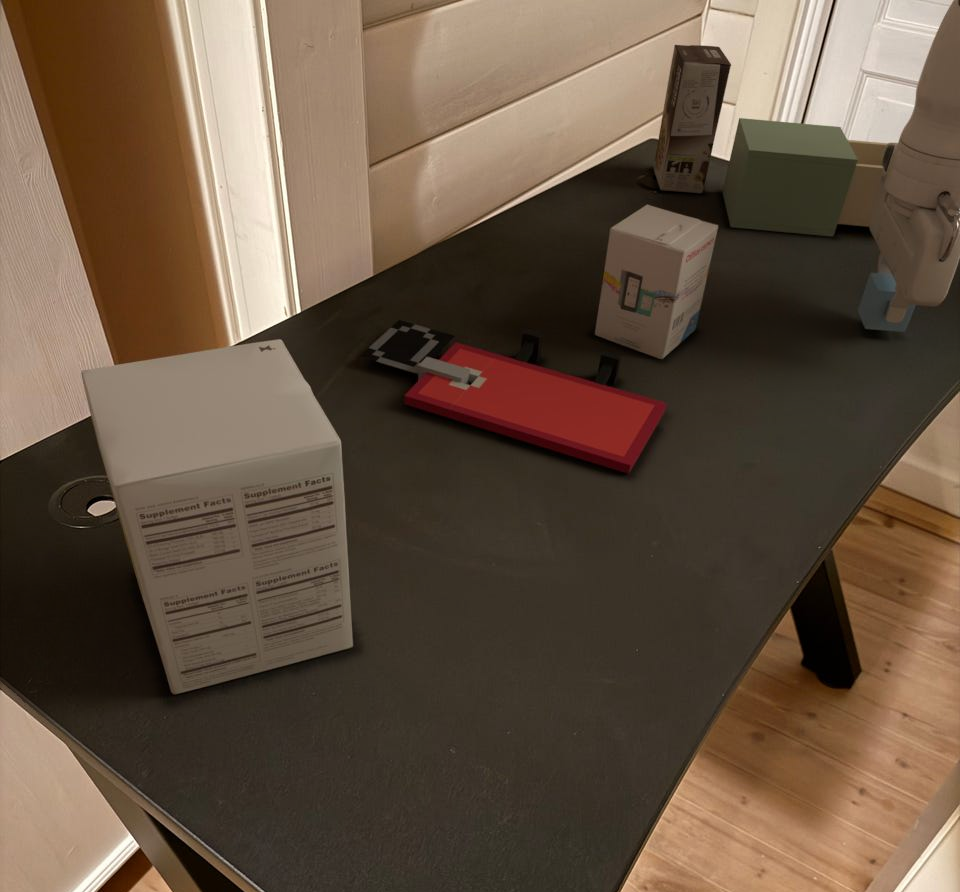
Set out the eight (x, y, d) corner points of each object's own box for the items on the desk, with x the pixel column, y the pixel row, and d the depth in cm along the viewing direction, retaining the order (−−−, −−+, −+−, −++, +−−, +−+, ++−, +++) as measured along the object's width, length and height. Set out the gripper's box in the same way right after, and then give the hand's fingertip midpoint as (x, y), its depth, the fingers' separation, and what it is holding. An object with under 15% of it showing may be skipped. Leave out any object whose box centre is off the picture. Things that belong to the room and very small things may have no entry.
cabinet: (818, 200, 133) (840, 126, 126) (833, 236, 124) (858, 159, 117) (722, 191, 133) (739, 117, 126) (730, 227, 124) (749, 149, 117)
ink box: (629, 307, 106) (647, 201, 98) (697, 330, 103) (722, 223, 95) (592, 335, 101) (608, 226, 93) (662, 361, 98) (685, 250, 90)
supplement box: (135, 575, 71) (76, 366, 58) (304, 537, 75) (283, 334, 63) (170, 699, 63) (110, 487, 50) (358, 648, 67) (345, 440, 54)
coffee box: (704, 194, 132) (732, 64, 120) (659, 191, 132) (683, 60, 120) (695, 170, 138) (721, 45, 127) (652, 168, 138) (674, 41, 127)
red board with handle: (407, 320, 101) (336, 386, 91) (407, 295, 99) (334, 361, 89) (674, 397, 93) (627, 478, 84) (680, 372, 91) (633, 452, 82)
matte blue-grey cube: (896, 313, 106) (910, 275, 103) (905, 332, 103) (920, 293, 100) (857, 310, 106) (870, 272, 103) (864, 328, 103) (878, 290, 100)
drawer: (922, 204, 131) (945, 145, 125) (943, 238, 123) (968, 175, 118) (800, 193, 132) (818, 133, 126) (813, 226, 124) (832, 163, 118)
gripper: (996, 219, 86) (938, 356, 96) (941, 144, 101) (895, 270, 111) (927, 213, 87) (876, 351, 97) (881, 139, 101) (841, 265, 111)
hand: (886, 307), depth 104 cm, fingers closed on matte blue-grey cube, 4 cm apart
